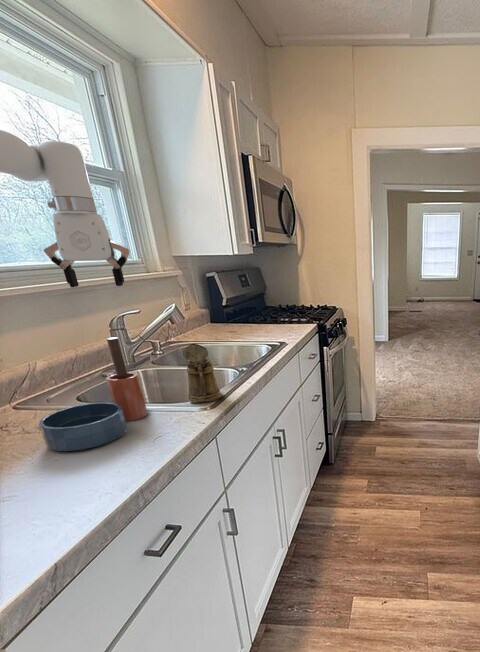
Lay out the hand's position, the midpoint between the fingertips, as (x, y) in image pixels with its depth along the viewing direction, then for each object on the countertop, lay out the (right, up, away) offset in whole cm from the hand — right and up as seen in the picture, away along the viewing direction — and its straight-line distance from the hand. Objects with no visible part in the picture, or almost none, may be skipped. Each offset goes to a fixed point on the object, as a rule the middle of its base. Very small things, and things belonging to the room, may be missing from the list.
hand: (97, 286), depth 98 cm
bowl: (+1, -37, -4) cm, 37 cm away
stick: (+4, -31, +8) cm, 32 cm away
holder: (+4, -32, +8) cm, 33 cm away
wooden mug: (+18, -27, +18) cm, 38 cm away
